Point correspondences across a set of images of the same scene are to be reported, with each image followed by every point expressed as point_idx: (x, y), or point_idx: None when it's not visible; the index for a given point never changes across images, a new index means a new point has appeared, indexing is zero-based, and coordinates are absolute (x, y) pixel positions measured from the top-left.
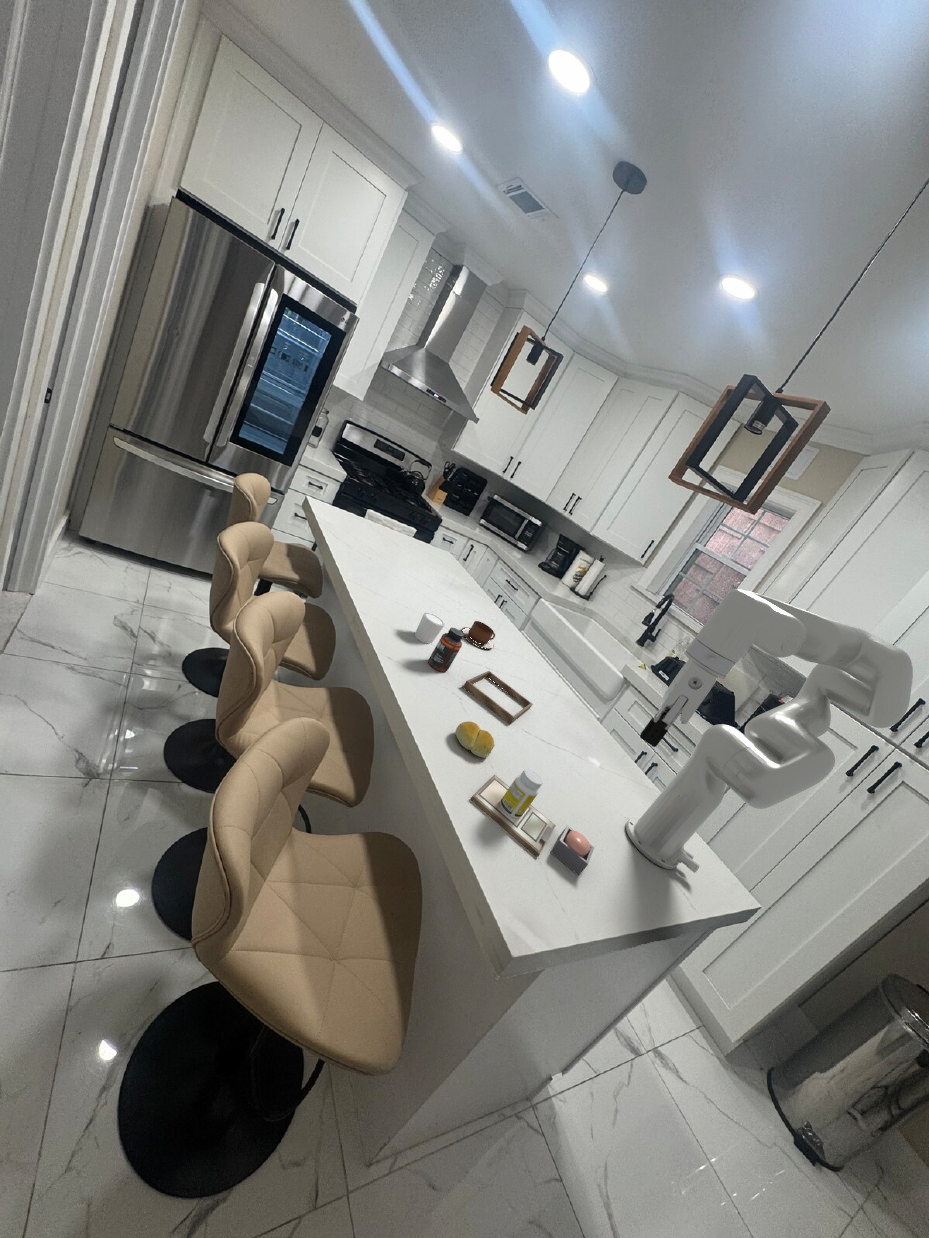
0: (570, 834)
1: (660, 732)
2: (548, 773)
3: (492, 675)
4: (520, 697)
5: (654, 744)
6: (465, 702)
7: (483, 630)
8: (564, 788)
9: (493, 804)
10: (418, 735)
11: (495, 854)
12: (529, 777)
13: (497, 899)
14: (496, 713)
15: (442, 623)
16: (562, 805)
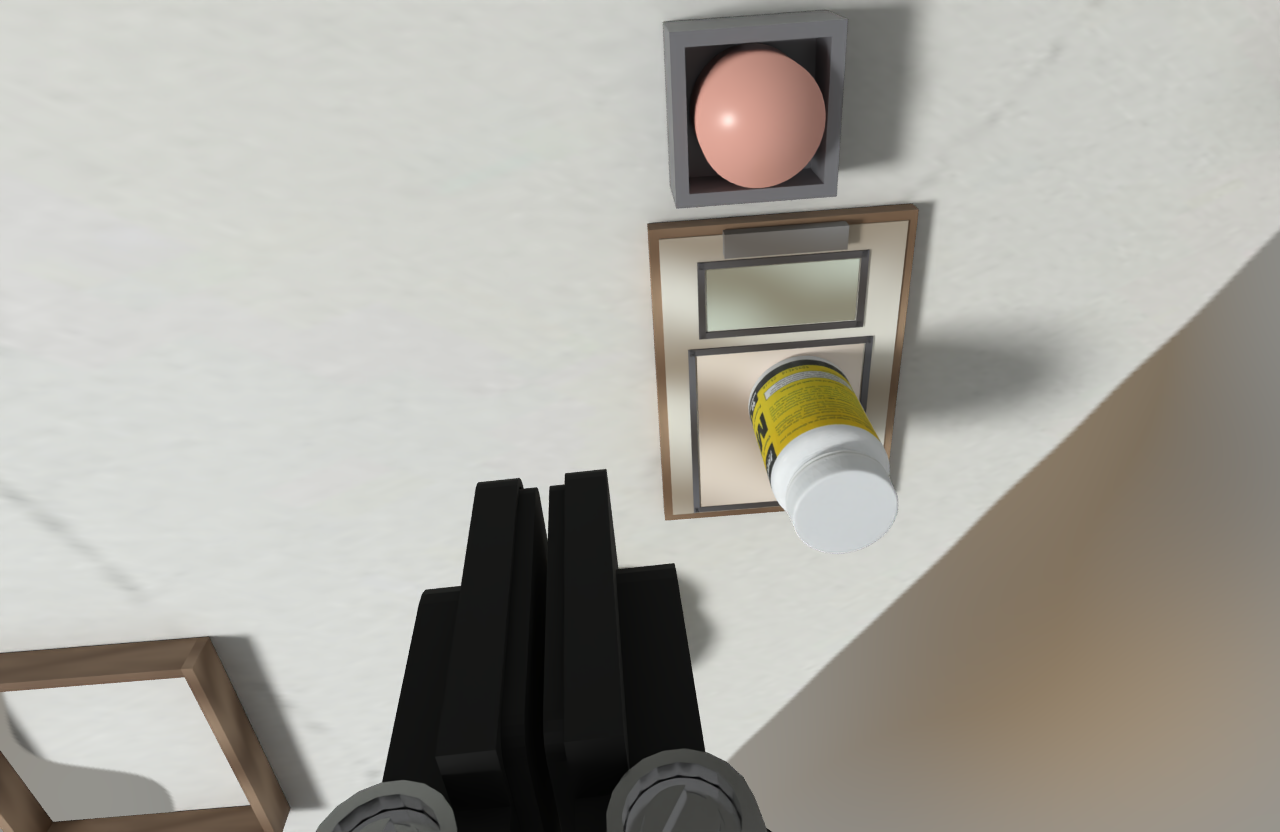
0: (775, 179)
1: (696, 710)
2: (275, 398)
3: None
4: None
5: (609, 505)
6: (365, 758)
7: None
8: (263, 303)
9: None
10: (774, 709)
11: (1057, 317)
12: (884, 518)
13: (1254, 220)
14: (233, 693)
15: None
16: (418, 258)
